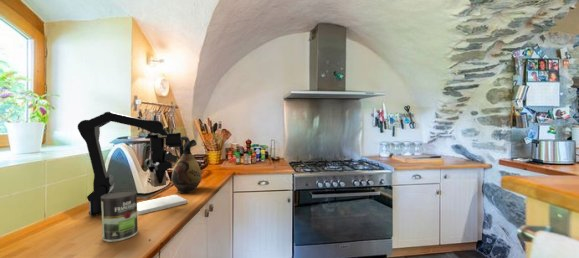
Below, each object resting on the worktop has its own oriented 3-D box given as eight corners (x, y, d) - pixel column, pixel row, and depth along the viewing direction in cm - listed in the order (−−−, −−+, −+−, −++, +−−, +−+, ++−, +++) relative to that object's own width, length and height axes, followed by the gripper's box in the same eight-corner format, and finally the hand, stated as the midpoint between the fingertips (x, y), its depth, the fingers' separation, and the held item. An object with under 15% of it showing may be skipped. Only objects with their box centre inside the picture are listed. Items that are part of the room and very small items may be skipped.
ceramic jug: (208, 189, 146) (206, 135, 144) (184, 196, 132) (182, 137, 131) (188, 185, 154) (186, 135, 153) (164, 191, 141) (162, 136, 140)
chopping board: (139, 214, 107) (139, 211, 107) (130, 207, 117) (130, 204, 117) (186, 203, 122) (186, 200, 121) (175, 197, 131) (175, 194, 131)
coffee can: (144, 232, 90) (142, 192, 90) (111, 245, 82) (109, 200, 81) (128, 226, 96) (127, 188, 95) (96, 237, 87) (94, 195, 86)
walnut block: (154, 187, 115) (154, 173, 115) (150, 185, 119) (150, 172, 118) (166, 184, 119) (165, 171, 118) (162, 183, 122) (162, 170, 122)
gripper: (183, 148, 117) (184, 182, 118) (168, 145, 130) (168, 176, 131) (157, 150, 109) (158, 187, 110) (143, 147, 122) (144, 180, 123)
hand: (158, 182), depth 119 cm, fingers closed on walnut block, 5 cm apart
